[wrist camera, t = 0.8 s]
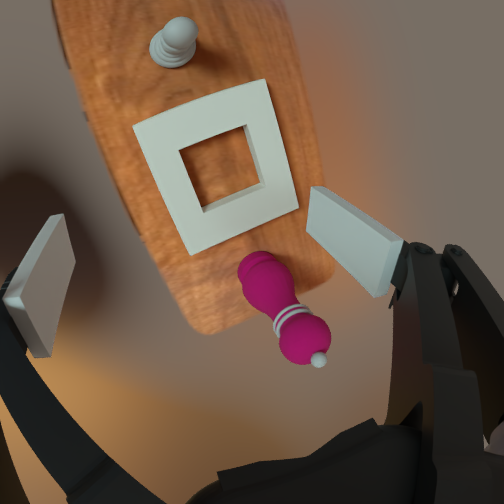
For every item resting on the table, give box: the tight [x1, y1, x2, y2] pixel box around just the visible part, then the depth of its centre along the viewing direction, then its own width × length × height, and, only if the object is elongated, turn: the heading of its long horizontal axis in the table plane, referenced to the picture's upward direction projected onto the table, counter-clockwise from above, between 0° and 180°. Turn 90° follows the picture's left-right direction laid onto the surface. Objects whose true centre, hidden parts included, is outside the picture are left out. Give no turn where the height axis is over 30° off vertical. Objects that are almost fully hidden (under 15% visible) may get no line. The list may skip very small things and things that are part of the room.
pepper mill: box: [238, 251, 331, 368], centre depth 37 cm, size 7×7×20 cm
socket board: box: [132, 79, 299, 256], centre depth 35 cm, size 18×16×2 cm
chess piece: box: [149, 17, 198, 68], centre depth 23 cm, size 5×5×9 cm
